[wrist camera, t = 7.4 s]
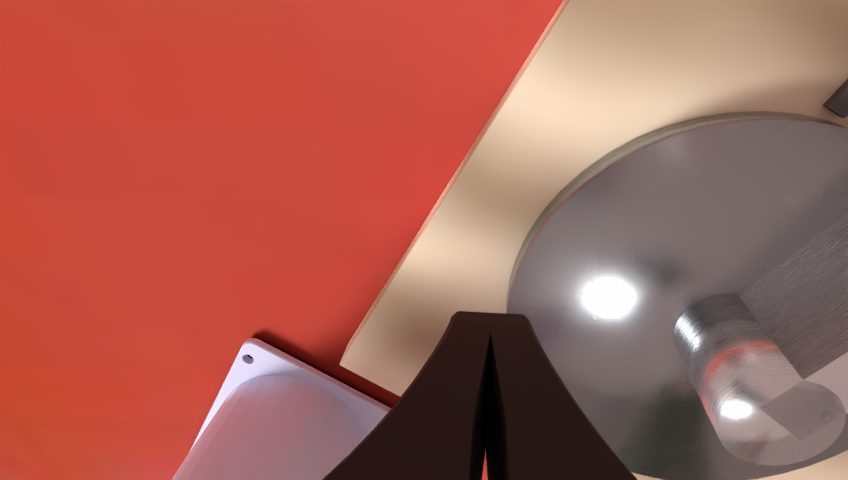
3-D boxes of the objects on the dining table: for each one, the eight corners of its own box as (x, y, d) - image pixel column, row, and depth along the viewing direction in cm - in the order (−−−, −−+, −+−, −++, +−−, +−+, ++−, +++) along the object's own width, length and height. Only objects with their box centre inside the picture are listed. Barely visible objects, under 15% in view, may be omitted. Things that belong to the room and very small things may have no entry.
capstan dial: (687, 506, 22) (737, 644, 18) (430, 323, 20) (408, 427, 15) (1160, 233, 15) (1454, 344, 10) (846, -102, 13) (1044, -153, 8)
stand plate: (713, 536, 25) (727, 573, 24) (348, 342, 23) (337, 369, 21) (1178, 213, 16) (1251, 238, 15) (658, -152, 14) (678, -169, 13)
